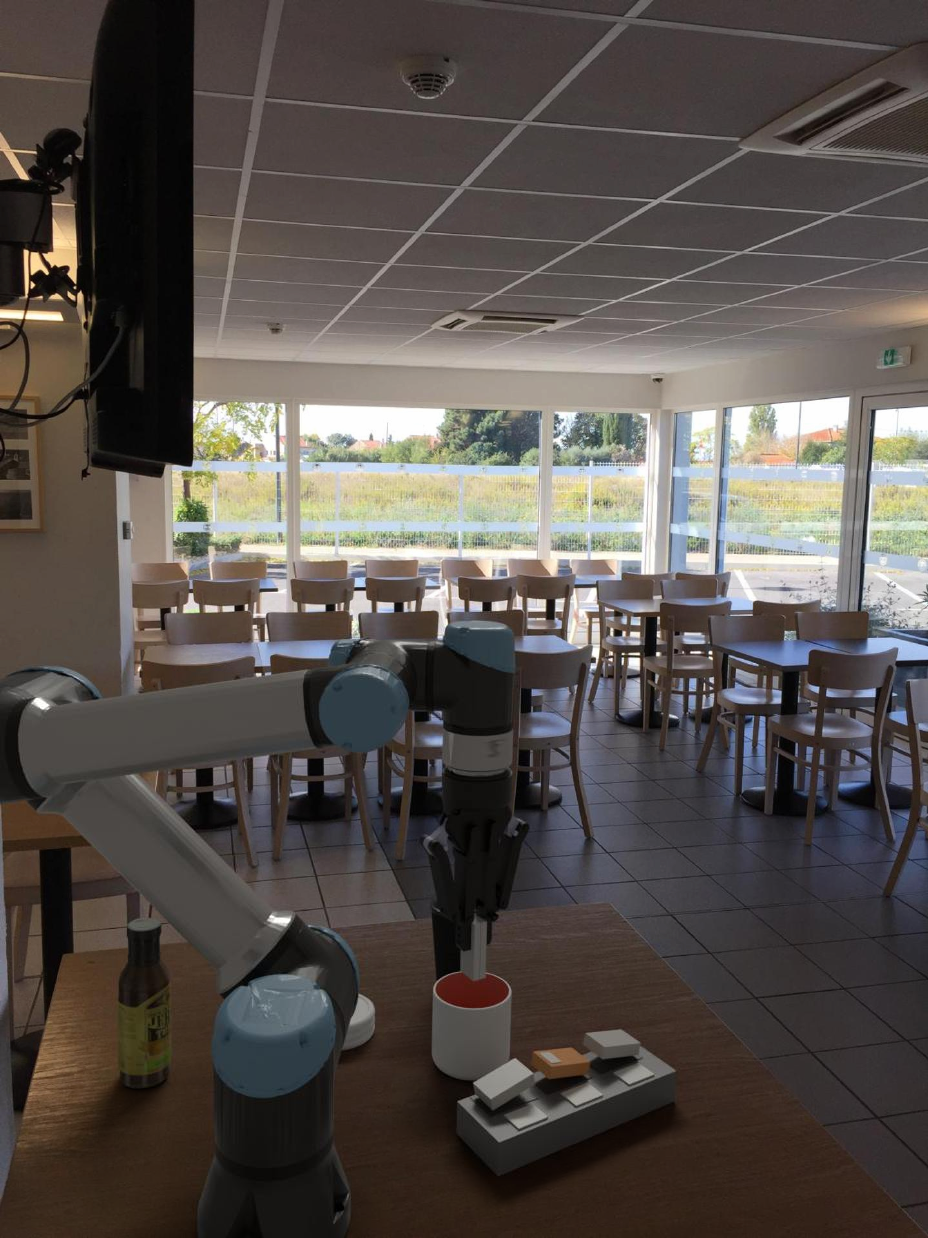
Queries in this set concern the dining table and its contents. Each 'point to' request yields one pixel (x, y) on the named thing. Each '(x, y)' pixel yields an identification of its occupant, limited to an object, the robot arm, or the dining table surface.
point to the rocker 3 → (611, 1044)
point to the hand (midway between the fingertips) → (472, 974)
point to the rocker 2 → (560, 1063)
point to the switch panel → (564, 1109)
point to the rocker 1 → (504, 1084)
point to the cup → (471, 1025)
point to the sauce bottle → (144, 1009)
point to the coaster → (360, 1024)
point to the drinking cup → (444, 942)
